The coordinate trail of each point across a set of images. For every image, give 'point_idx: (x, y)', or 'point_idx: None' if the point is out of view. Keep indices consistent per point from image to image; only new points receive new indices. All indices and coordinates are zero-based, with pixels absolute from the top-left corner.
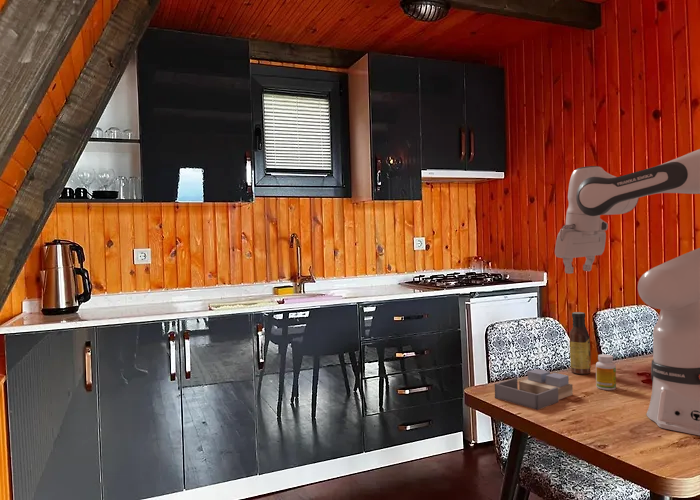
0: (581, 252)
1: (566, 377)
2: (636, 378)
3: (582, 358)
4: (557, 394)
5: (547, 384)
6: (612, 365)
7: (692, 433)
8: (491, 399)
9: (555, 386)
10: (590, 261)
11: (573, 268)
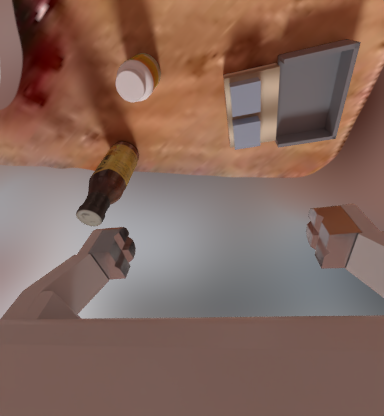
0: (339, 393)
1: (236, 85)
2: (61, 83)
3: (123, 155)
4: (283, 56)
5: None
6: (131, 62)
7: None
8: None
9: None
10: (70, 282)
11: (327, 228)
